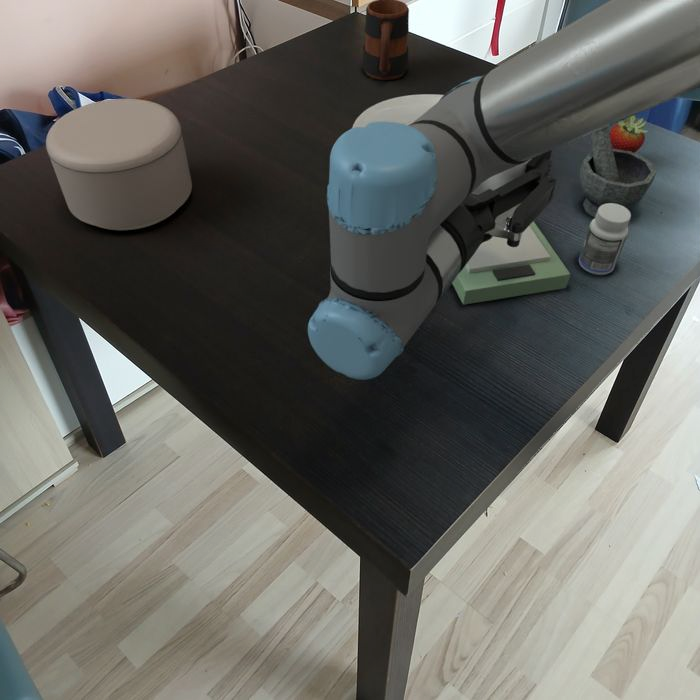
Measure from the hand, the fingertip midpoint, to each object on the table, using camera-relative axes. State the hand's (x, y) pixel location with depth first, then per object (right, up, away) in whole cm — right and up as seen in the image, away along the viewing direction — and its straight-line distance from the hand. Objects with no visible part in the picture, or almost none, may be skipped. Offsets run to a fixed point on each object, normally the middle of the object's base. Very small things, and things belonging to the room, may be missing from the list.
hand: (518, 140), depth 75 cm
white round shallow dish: (-6, +5, +29) cm, 31 cm away
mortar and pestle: (+18, -3, +22) cm, 29 cm away
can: (-3, -8, +2) cm, 8 cm away
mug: (-13, +28, +51) cm, 59 cm away
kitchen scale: (0, -12, +14) cm, 18 cm away
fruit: (+23, +6, +30) cm, 38 cm away
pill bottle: (+14, -13, +13) cm, 23 cm away
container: (-51, -2, +23) cm, 56 cm away
